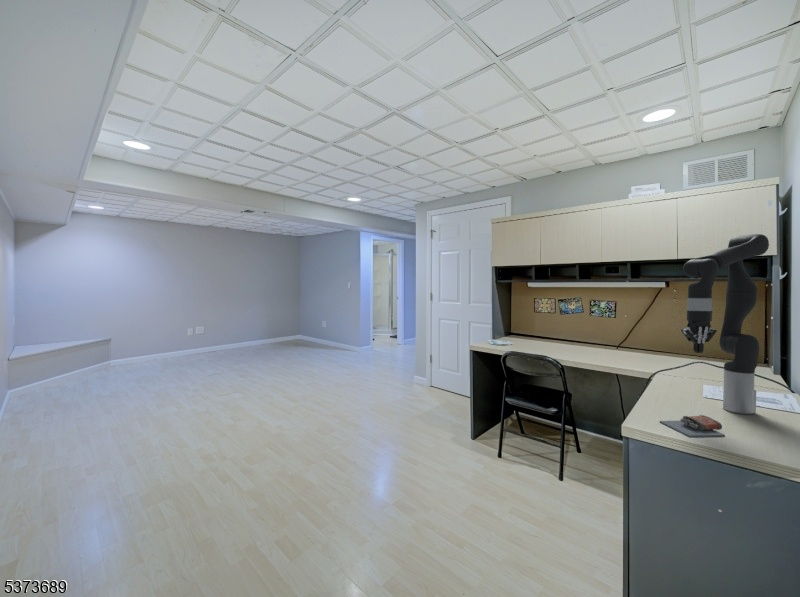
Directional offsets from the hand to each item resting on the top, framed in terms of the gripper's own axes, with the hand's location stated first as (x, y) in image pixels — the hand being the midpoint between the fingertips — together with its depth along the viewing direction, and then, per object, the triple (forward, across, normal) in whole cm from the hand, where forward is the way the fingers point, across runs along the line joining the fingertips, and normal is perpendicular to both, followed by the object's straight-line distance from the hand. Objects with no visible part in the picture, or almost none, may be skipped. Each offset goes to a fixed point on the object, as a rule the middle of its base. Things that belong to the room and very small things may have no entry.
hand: (698, 352), depth 133 cm
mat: (+27, +11, +9) cm, 31 cm away
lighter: (+25, +3, +8) cm, 26 cm away
